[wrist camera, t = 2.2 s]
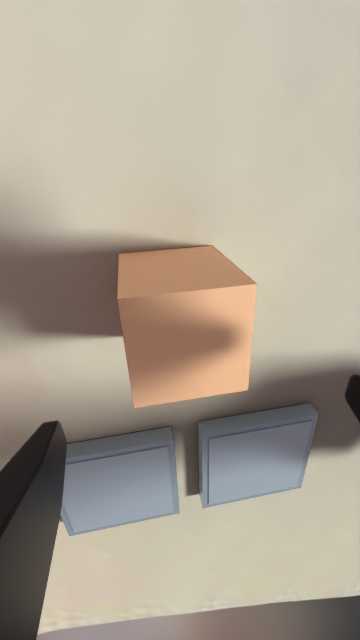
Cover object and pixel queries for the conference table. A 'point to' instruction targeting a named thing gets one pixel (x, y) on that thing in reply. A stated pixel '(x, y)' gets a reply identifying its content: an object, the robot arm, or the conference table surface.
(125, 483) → the dish
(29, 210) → the conference table surface
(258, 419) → the dish
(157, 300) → the block
